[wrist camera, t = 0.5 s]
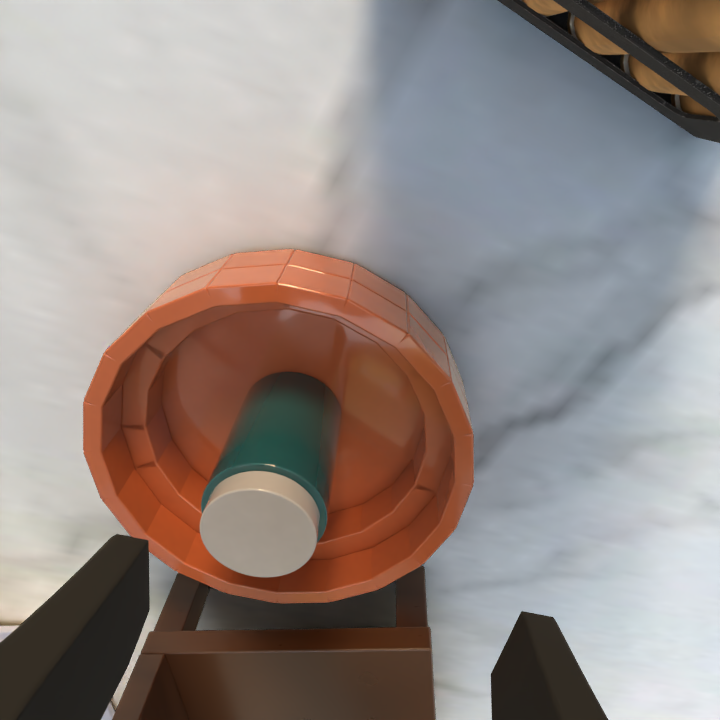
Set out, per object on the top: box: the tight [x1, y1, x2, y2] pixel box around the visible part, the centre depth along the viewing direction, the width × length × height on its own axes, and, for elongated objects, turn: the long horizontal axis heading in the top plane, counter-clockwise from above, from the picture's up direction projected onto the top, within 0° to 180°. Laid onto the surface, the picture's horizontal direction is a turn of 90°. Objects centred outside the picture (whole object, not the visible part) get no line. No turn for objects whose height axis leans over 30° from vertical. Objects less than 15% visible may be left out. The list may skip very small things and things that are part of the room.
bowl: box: [83, 249, 474, 604], centre depth 20 cm, size 12×12×4 cm
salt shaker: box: [200, 372, 342, 577], centre depth 18 cm, size 4×4×6 cm
